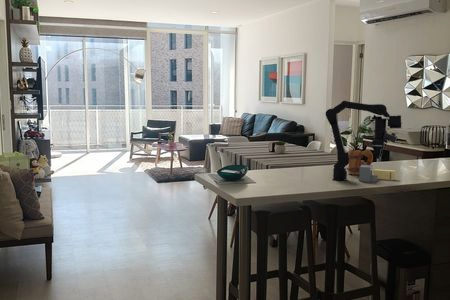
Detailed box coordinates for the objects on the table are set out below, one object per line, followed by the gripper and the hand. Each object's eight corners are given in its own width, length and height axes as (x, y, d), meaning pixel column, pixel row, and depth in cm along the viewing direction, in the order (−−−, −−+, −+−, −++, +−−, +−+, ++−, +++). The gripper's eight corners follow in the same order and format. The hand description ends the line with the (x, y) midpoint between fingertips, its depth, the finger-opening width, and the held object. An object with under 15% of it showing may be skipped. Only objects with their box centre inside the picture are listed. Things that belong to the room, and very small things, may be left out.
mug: (344, 174, 258) (345, 149, 256) (348, 172, 265) (348, 147, 263) (370, 176, 251) (371, 150, 249) (373, 174, 258) (374, 148, 256)
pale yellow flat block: (373, 178, 245) (373, 170, 244) (373, 178, 247) (374, 169, 246) (394, 180, 240) (394, 171, 239) (394, 179, 242) (395, 170, 242)
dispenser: (359, 181, 238) (359, 166, 237) (361, 178, 245) (362, 164, 244) (375, 182, 234) (376, 167, 233) (377, 179, 241) (378, 165, 240)
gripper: (394, 129, 220) (393, 160, 222) (398, 127, 237) (397, 156, 239) (371, 129, 225) (370, 159, 227) (376, 127, 242) (375, 155, 244)
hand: (379, 157), depth 234 cm, fingers open, 9 cm apart
